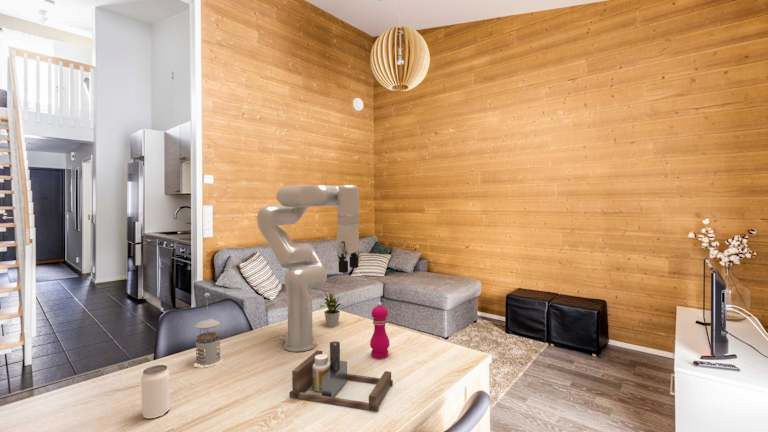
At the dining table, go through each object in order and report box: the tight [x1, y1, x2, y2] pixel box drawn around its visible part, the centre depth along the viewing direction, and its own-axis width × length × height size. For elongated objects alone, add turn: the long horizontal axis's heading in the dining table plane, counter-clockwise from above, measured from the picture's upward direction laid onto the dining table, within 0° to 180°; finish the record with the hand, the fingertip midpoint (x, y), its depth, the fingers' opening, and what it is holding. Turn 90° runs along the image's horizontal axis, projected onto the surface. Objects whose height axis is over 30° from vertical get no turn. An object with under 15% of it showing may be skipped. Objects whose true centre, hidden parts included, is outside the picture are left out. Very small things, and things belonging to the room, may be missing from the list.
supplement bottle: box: [312, 353, 330, 393], centre depth 114 cm, size 5×5×10 cm
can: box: [140, 364, 171, 417], centre depth 101 cm, size 6×6×12 cm
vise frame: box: [288, 350, 394, 413], centre depth 112 cm, size 27×16×8 cm, turn 73°
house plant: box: [318, 290, 347, 328], centre depth 173 cm, size 14×14×16 cm
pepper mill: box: [369, 301, 390, 360], centre depth 138 cm, size 7×7×20 cm
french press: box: [194, 292, 222, 366], centre depth 134 cm, size 10×12×25 cm
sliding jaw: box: [321, 340, 348, 397], centre depth 113 cm, size 3×12×14 cm, turn 163°
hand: (348, 269), depth 130 cm, fingers open, 9 cm apart
